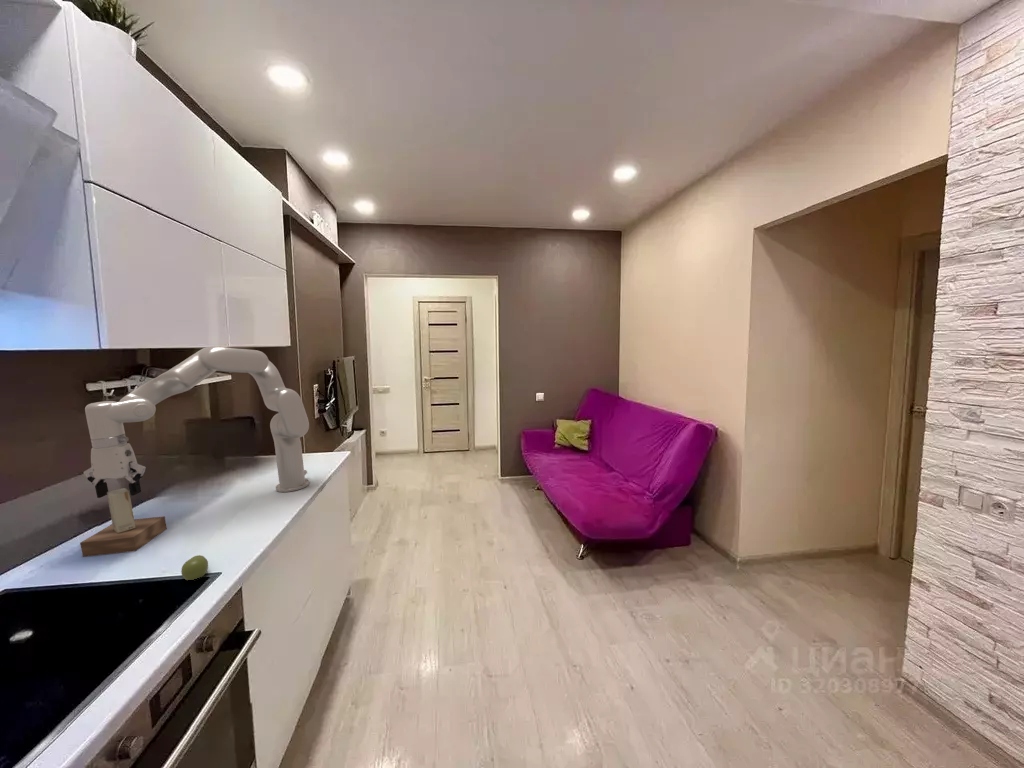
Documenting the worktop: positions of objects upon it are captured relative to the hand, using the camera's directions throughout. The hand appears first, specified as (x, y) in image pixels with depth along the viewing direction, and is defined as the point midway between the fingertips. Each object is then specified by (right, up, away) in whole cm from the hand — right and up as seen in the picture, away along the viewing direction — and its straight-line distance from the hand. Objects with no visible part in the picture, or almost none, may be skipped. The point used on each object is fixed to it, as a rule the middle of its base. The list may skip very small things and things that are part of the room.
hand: (119, 494), depth 127 cm
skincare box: (0, -11, +1) cm, 11 cm away
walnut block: (+1, -16, +2) cm, 16 cm away
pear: (+38, -17, -17) cm, 45 cm away
